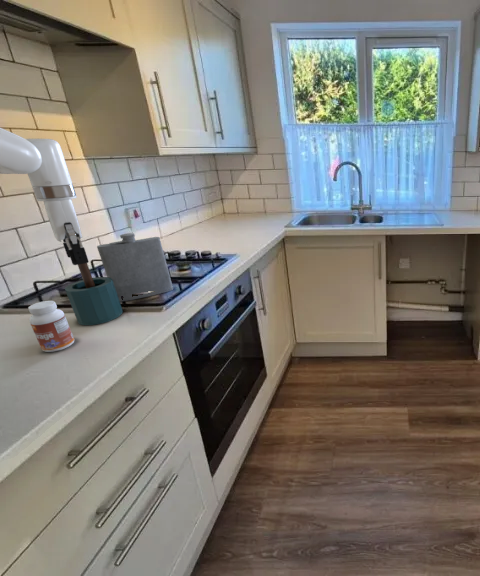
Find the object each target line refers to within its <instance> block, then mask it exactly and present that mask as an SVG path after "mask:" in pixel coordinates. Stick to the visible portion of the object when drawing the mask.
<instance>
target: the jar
mask: <svg viewBox="0 0 480 576" xmlns="http://www.w3.org/2000/svg"><path fill="white" fill-rule="evenodd" d="M92 278H93V281H94V284H95V287H91V288H86V286H85V284H84V281H83V279H81V280H79V281H75V282H72V283H71V284H68V285H67V286H65V288H64V290H65V293H66V296H67V299H68V300H69V303H70V306H71V308H72V311H73V313H74V316H75V318H76V321H77V322H78V324H79V325H81V326H96V325H100V324H104V323H109V322H110V321H113V320H115V319H117V318H119V317H120V316H121V315H122V314H123V312H124V311H123V307H122V304H121V302H120V301H119V298H118V295H117V292H116V289H115V286H114V283H113V280H112V279H111V278H108V277H107V276H98V277H92Z"/></svg>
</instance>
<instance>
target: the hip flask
mask: <svg viewBox="0 0 480 576" xmlns="http://www.w3.org/2000/svg"><path fill="white" fill-rule="evenodd" d="M119 237H120V239H121V240H119V241H113V242H109V243H103V244H99V245H97V246H96V248H97V251H98V254H99V258H100V260H101V263H102V266H103V269H104V272H105V275H106V277H108V278H111V279H112V280H113V283H114V286H115V289H116V292H117V295H118V298H119V301H120V303H121V302H127V301H133V300H138V299H143V298H148V297H152V296H156V295H160V294H164V293H168V292H171V291H173V290H174V287H173V282H172V280H171V275H170V271H169V267H168V264H167V260H166V257H165V252H164V249H163V245H162V241H161V238H160V237H159V236H151V237H147V238H141V239H136V238H135V237H136V234H135V233H134V232H127V233H122V234H120V235H119ZM148 291H155V292H152V293H148V294H143V295H138V296H133V297H132V294H135V293H141V292H148ZM121 296H123V297H124V298H123V300H122V299H121Z"/></svg>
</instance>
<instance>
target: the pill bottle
mask: <svg viewBox="0 0 480 576" xmlns="http://www.w3.org/2000/svg"><path fill="white" fill-rule="evenodd" d="M27 308H28V311H29V313H30V315H31V316H30V317H29V319H28V321H29V325H30V326H31V329H32V332H33V334H34V336H35V338H36V340H37V342H38V344H39V347H40V349H41V351H43V352H45V353H53V352H58V351H62V350H65V349H68V348H69V347H70V346H72V345H73V344H74V343H75V337H74V335H73V332H72V330H71V327H70V324H69V322H68V320H67V317H66V314H65V312H64V311H63V310H61V309H59V308H58V306H57V303H56V302H55V300H44V301H38V302H36V303H33V304H31V305H30V306H28V307H27Z"/></svg>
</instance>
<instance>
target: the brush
mask: <svg viewBox="0 0 480 576" xmlns="http://www.w3.org/2000/svg"><path fill="white" fill-rule="evenodd" d="M77 267H78V270H79V273H80V276H81V278H82V280H83V281H84V284H85V286H86V288H91V287H95V284H94V281H93V278H94V277H93V275H92V273H91V269H90V267H89V264H88V263H84V264H79V265H77Z"/></svg>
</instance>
